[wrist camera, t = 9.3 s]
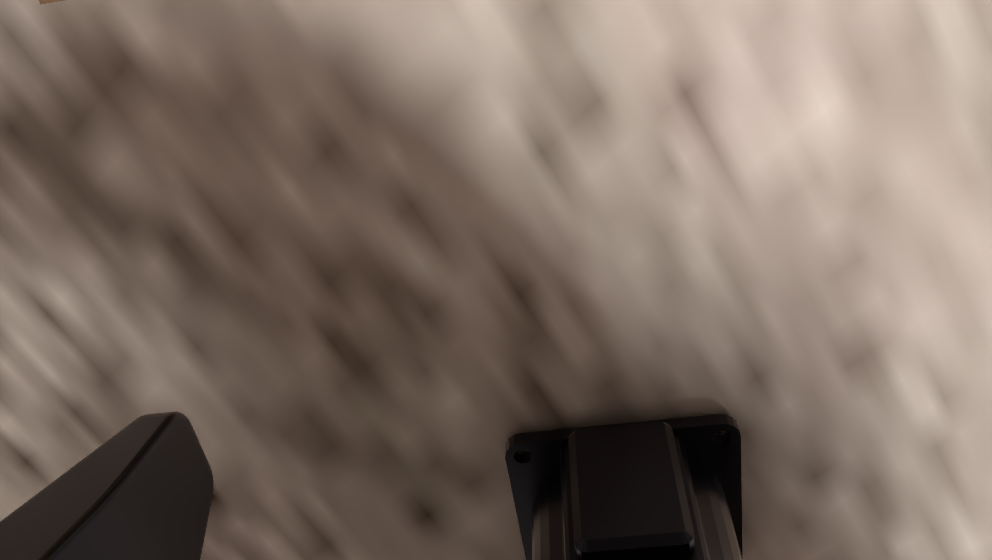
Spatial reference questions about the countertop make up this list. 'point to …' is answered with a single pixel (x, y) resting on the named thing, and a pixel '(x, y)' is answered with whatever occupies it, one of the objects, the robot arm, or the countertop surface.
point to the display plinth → (48, 1)
